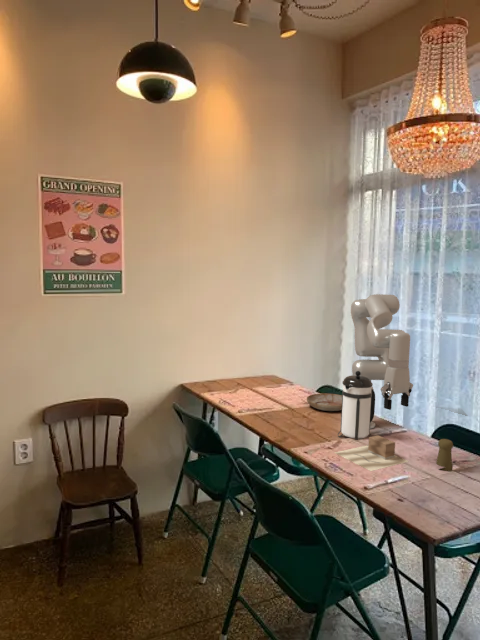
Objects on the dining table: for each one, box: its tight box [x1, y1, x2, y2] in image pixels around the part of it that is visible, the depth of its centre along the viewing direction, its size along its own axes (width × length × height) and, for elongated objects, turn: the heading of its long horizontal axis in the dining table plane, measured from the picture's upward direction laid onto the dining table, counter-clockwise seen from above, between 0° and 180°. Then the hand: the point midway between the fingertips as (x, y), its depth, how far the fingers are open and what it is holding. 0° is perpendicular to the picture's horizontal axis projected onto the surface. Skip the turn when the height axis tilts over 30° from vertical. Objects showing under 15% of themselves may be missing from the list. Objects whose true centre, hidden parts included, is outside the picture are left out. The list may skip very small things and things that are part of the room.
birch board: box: [334, 444, 410, 472], centre depth 194 cm, size 20×20×2 cm
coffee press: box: [337, 371, 376, 441], centre depth 219 cm, size 17×16×30 cm
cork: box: [435, 438, 454, 472], centre depth 188 cm, size 6×6×11 cm
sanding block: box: [368, 435, 396, 460], centre depth 196 cm, size 9×5×6 cm, turn 30°
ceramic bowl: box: [306, 392, 342, 412], centre depth 265 cm, size 23×24×5 cm
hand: (396, 407), depth 194 cm, fingers open, 9 cm apart
